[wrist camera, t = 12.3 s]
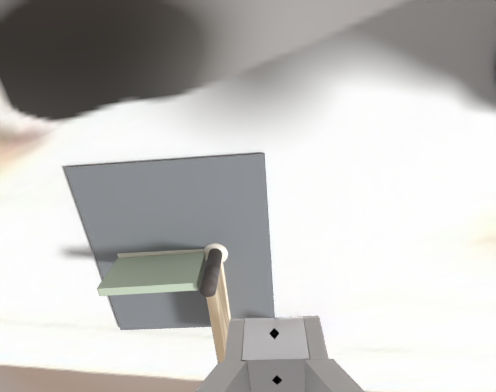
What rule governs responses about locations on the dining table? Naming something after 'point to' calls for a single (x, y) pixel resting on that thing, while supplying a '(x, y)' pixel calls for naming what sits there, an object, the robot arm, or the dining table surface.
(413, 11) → the dining table surface
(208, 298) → the panel
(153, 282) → the folding panel
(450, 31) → the dining table surface
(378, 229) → the dining table surface
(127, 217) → the board
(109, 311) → the dining table surface
